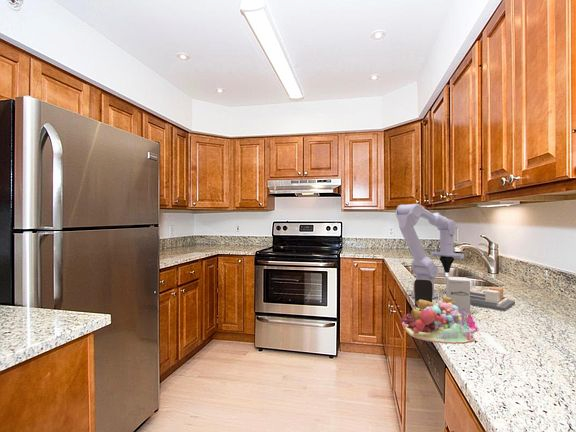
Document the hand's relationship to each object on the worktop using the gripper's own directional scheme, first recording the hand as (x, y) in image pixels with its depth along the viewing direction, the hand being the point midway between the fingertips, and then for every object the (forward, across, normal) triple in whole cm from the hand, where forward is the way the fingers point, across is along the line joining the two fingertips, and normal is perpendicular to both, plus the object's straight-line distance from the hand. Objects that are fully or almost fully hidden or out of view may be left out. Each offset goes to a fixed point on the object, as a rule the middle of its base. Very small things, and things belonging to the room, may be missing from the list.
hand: (447, 272), depth 148 cm
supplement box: (+10, -14, +25) cm, 30 cm away
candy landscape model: (+10, -17, +50) cm, 54 cm away
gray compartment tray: (+10, -17, +6) cm, 21 cm away
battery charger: (+10, -2, +30) cm, 31 cm away
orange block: (+8, -21, +3) cm, 23 cm away
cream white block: (+8, -21, +10) cm, 25 cm away
